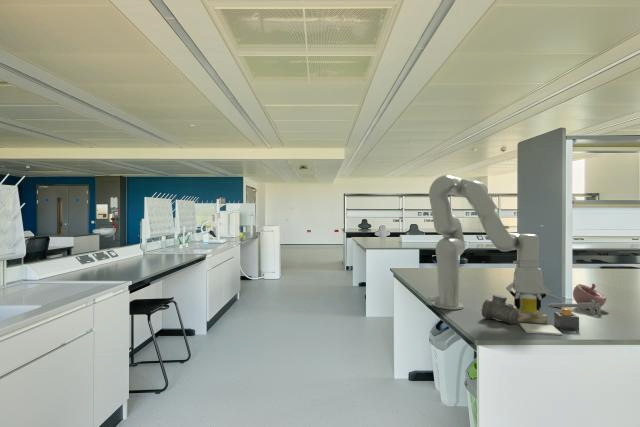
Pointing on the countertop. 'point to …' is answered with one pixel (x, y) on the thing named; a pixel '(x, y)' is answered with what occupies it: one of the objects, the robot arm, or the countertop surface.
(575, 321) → the block
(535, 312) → the pill bottle
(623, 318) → the countertop surface
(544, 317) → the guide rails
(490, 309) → the pipe fitting
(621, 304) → the countertop surface
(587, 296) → the mortar and pestle
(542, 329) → the pad
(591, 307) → the caliper
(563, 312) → the plunger
